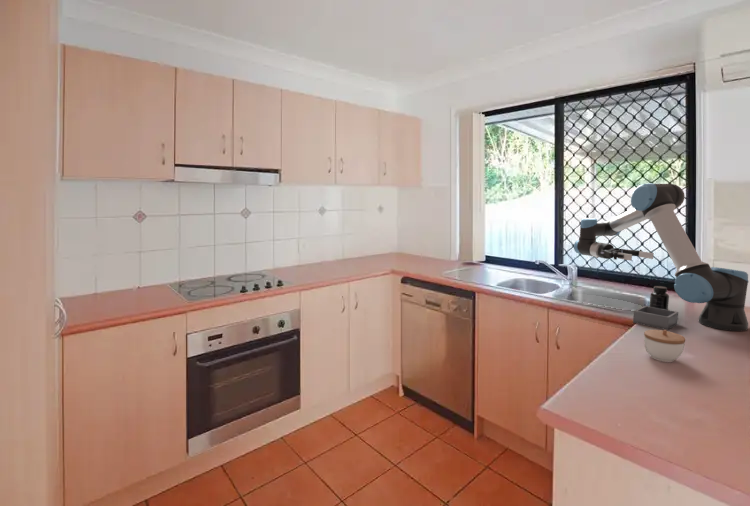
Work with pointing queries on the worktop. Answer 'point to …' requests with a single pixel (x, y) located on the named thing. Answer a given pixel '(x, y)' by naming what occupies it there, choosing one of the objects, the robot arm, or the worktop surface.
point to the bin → (655, 317)
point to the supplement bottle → (659, 298)
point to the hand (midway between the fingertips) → (642, 256)
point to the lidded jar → (663, 344)
